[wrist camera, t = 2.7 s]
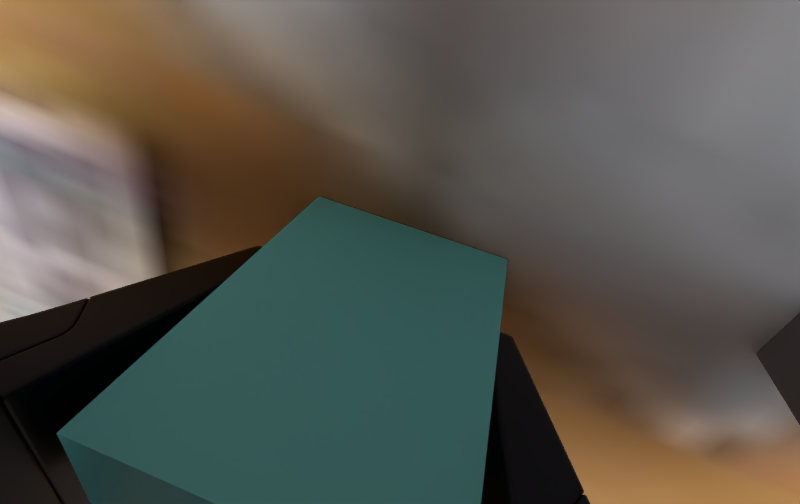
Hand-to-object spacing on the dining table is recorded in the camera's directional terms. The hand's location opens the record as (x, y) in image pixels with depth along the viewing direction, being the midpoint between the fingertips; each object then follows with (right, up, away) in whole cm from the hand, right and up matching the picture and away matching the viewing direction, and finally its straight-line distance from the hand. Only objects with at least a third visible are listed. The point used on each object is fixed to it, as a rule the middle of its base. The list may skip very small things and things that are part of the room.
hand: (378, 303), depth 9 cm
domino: (+1, +1, +2) cm, 2 cm away
